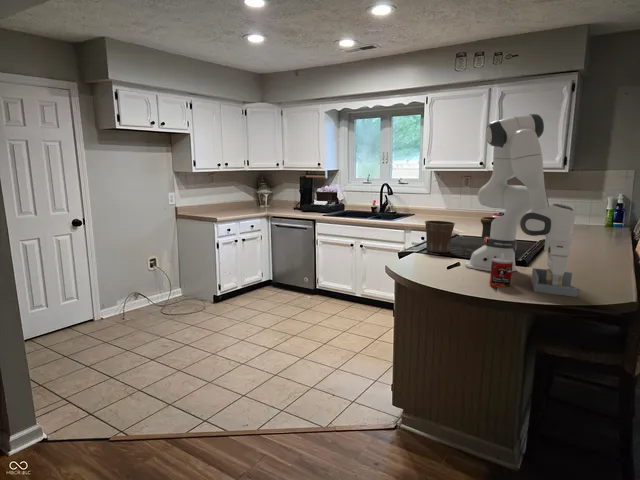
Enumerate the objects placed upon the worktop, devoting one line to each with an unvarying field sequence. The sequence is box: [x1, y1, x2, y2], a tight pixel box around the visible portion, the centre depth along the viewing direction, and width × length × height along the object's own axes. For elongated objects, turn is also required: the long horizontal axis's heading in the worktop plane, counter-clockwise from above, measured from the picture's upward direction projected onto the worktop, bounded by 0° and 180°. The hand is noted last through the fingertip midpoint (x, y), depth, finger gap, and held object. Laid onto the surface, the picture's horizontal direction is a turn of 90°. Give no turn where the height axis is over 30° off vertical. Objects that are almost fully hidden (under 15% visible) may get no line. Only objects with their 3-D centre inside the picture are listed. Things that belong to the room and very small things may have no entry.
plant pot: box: [424, 220, 456, 254], centre depth 236 cm, size 16×16×16 cm
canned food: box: [489, 258, 513, 289], centre depth 169 cm, size 8×8×11 cm
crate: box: [530, 267, 578, 298], centre depth 166 cm, size 14×16×6 cm
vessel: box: [480, 216, 498, 247], centre depth 230 cm, size 14×14×20 cm
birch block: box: [545, 268, 563, 286], centre depth 165 cm, size 5×5×7 cm
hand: (553, 281), depth 165 cm, fingers open, 8 cm apart
